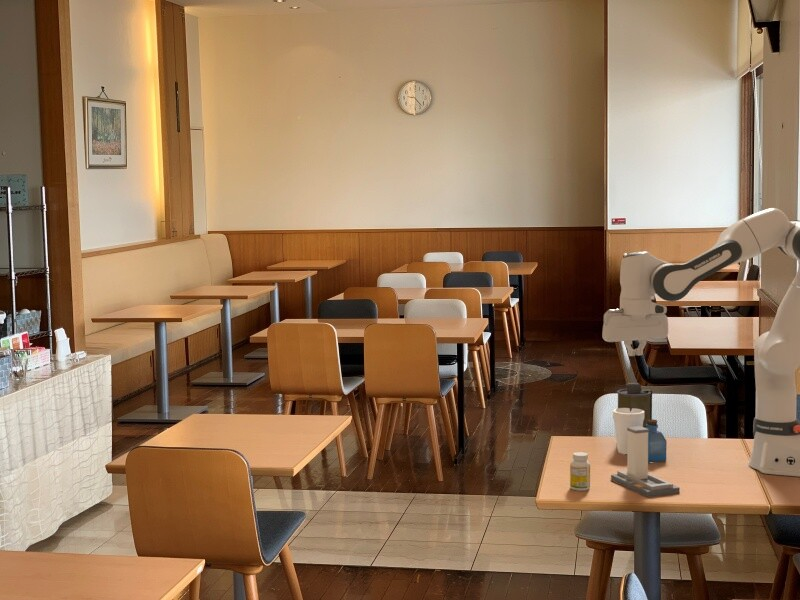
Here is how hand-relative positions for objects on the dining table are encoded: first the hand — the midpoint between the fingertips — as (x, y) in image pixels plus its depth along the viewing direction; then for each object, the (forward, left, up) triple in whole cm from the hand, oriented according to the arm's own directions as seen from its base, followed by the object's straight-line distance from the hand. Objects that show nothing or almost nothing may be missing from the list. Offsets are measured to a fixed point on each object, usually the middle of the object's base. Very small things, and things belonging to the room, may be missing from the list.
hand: (635, 355), depth 299 cm
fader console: (-10, +17, -33) cm, 39 cm away
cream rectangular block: (-7, +15, -32) cm, 36 cm away
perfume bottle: (-1, -11, -33) cm, 35 cm away
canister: (+10, -25, -33) cm, 43 cm away
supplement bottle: (+4, +28, -33) cm, 44 cm away
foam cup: (+8, -16, -33) cm, 38 cm away
